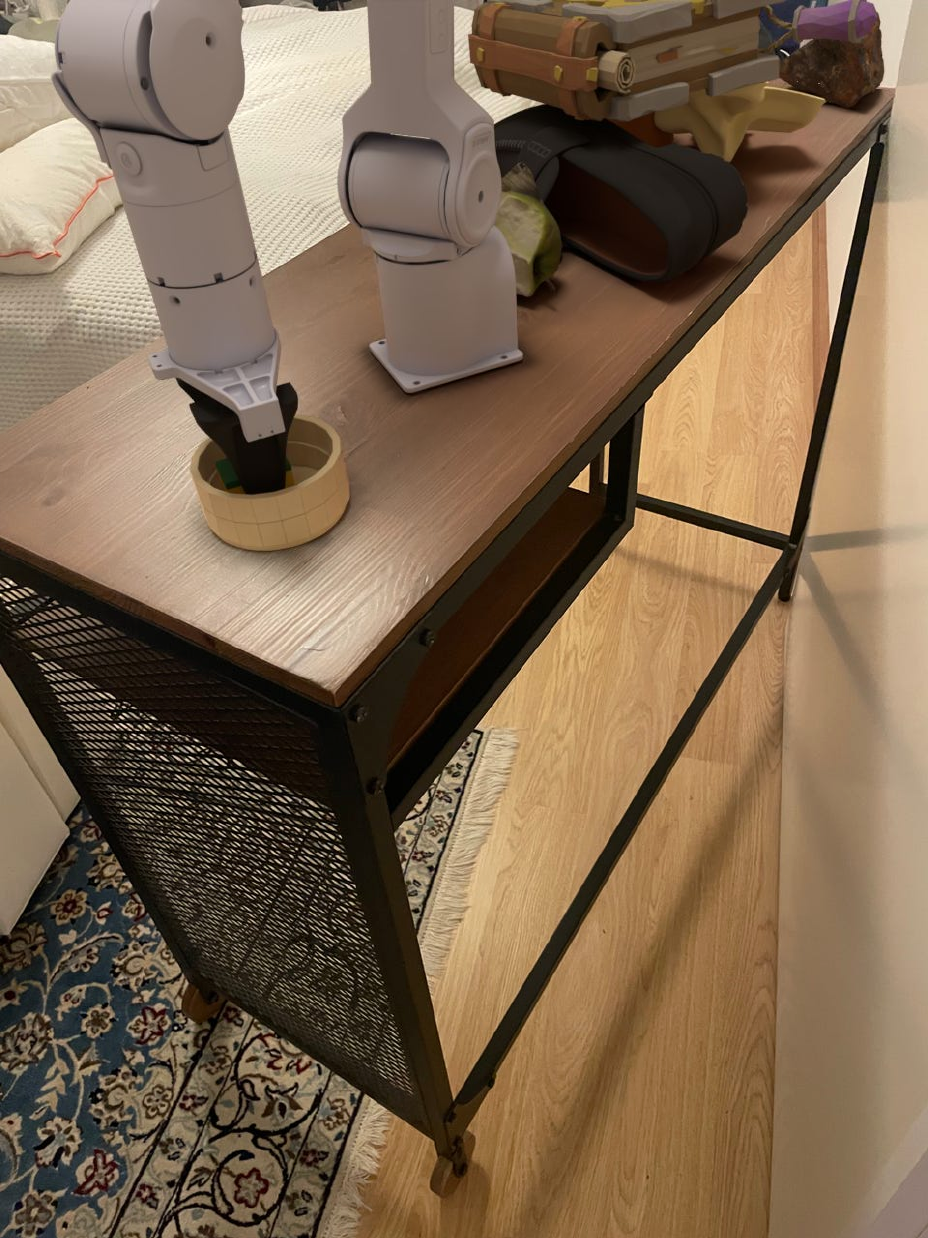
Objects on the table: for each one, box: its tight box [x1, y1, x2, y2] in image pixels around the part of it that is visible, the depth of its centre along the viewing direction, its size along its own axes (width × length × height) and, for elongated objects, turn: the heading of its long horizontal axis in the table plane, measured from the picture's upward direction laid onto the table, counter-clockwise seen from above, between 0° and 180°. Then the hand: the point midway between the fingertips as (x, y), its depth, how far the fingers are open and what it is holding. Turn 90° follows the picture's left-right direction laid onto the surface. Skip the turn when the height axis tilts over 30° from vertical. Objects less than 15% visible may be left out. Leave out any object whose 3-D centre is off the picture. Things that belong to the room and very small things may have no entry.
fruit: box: [494, 162, 562, 298], centre depth 77 cm, size 9×9×8 cm
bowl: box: [189, 413, 351, 552], centre depth 58 cm, size 9×9×4 cm
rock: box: [779, 11, 885, 109], centre depth 106 cm, size 14×12×10 cm
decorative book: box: [467, 0, 878, 121], centre depth 80 cm, size 25×27×11 cm
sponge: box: [215, 457, 295, 494], centre depth 58 cm, size 4×3×3 cm, turn 115°
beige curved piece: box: [654, 81, 828, 163], centre depth 95 cm, size 22×19×6 cm
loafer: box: [494, 103, 749, 284], centre depth 81 cm, size 10×28×12 cm
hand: (260, 482), depth 58 cm, fingers closed on sponge, 2 cm apart
